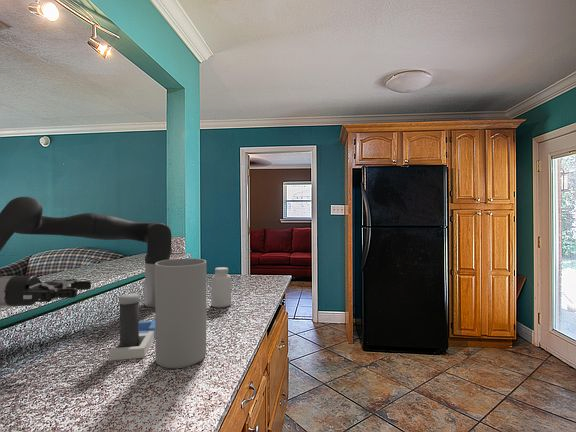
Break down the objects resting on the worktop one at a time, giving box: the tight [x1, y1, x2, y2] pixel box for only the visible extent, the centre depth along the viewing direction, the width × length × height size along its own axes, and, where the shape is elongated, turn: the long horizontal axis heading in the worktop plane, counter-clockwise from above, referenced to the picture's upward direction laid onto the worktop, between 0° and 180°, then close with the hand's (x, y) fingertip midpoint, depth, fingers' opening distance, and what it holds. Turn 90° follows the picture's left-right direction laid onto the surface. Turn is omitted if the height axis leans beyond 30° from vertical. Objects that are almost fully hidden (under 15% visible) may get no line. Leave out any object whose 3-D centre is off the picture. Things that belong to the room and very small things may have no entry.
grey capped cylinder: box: [118, 293, 140, 348], centre depth 85 cm, size 5×5×15 cm
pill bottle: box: [210, 266, 232, 308], centre depth 126 cm, size 8×8×15 cm
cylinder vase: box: [154, 257, 207, 369], centre depth 81 cm, size 12×12×25 cm
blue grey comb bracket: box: [108, 319, 155, 362], centre depth 90 cm, size 8×21×3 cm, turn 12°
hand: (83, 288), depth 82 cm, fingers open, 8 cm apart
